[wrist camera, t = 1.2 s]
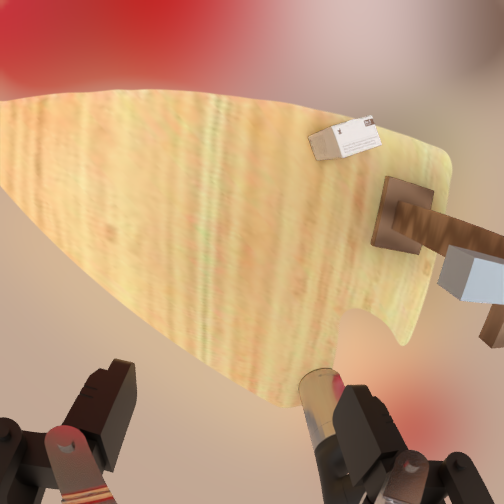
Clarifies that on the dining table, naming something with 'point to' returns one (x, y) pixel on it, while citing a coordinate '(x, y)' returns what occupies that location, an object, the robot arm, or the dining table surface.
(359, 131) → the skincare box
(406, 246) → the brown wooden stand
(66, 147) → the dining table surface
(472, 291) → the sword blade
